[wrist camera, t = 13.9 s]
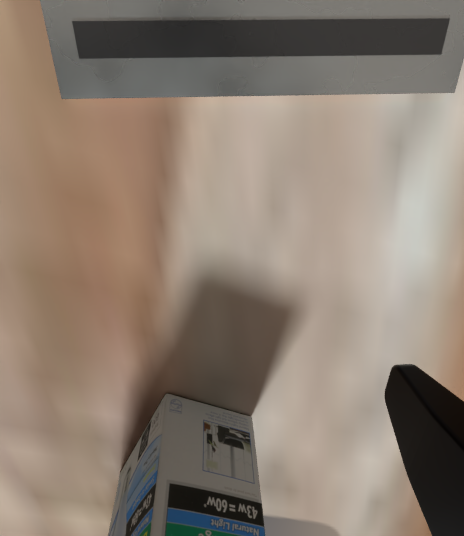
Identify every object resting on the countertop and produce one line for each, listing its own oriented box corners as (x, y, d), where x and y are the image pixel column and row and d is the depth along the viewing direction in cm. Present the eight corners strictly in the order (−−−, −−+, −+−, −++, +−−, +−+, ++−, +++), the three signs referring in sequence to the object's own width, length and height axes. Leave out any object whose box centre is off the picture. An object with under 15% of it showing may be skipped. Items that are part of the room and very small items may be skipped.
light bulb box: (165, 388, 25) (141, 592, 16) (256, 413, 27) (280, 609, 18) (116, 476, 30) (77, 671, 21) (196, 492, 32) (192, 678, 23)
